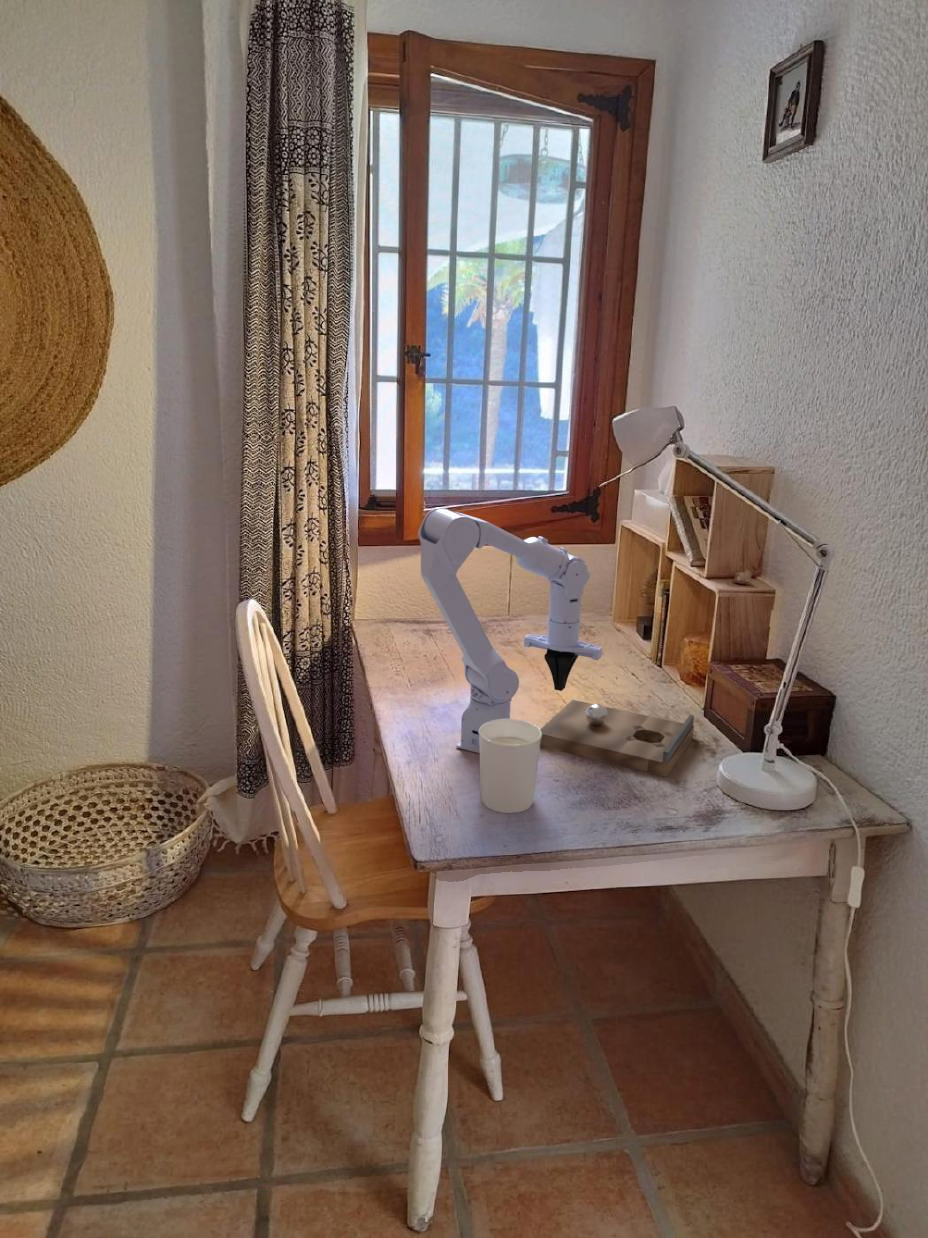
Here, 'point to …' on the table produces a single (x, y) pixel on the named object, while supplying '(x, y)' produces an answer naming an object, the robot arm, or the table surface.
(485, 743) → the candle holder
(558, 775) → the table surface
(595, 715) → the ball
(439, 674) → the table surface
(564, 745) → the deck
